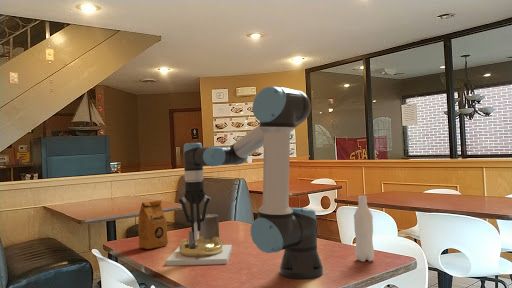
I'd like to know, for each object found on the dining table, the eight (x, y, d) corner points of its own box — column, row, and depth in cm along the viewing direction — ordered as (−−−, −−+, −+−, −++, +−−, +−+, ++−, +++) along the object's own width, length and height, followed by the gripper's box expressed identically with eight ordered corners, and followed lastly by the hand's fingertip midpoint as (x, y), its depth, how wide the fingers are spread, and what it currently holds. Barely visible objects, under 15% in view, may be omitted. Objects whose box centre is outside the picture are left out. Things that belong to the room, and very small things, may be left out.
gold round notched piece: (211, 257, 158) (210, 232, 158) (171, 255, 164) (170, 231, 164) (229, 247, 175) (228, 224, 175) (192, 245, 181) (191, 223, 181)
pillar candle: (222, 241, 196) (221, 211, 197) (215, 246, 187) (213, 214, 188) (204, 241, 199) (202, 211, 200) (196, 246, 190) (194, 214, 190)
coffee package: (170, 246, 191) (169, 200, 191) (147, 251, 182) (146, 203, 182) (159, 243, 198) (157, 199, 198) (136, 248, 189) (135, 201, 189)
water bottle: (351, 259, 158) (349, 195, 158) (367, 256, 160) (364, 194, 161) (362, 263, 151) (360, 197, 152) (378, 261, 154) (375, 196, 154)
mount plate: (226, 263, 157) (226, 258, 157) (166, 265, 157) (166, 259, 158) (232, 249, 181) (231, 244, 181) (179, 250, 181) (179, 245, 181)
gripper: (211, 179, 166) (213, 236, 165) (180, 180, 166) (182, 237, 166) (208, 180, 158) (211, 240, 158) (176, 182, 159) (178, 241, 158)
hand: (196, 239), depth 162 cm, fingers closed
